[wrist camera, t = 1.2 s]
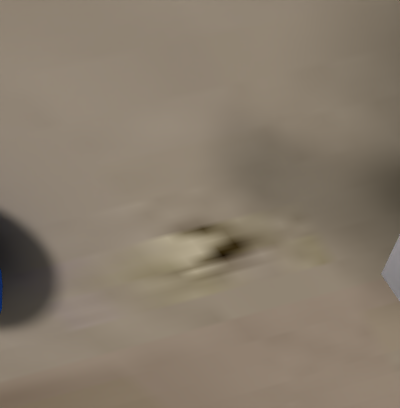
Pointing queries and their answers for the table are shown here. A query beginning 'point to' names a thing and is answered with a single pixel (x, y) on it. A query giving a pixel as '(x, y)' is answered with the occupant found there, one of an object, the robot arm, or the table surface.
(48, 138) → the table surface
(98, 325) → the table surface
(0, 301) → the vase
